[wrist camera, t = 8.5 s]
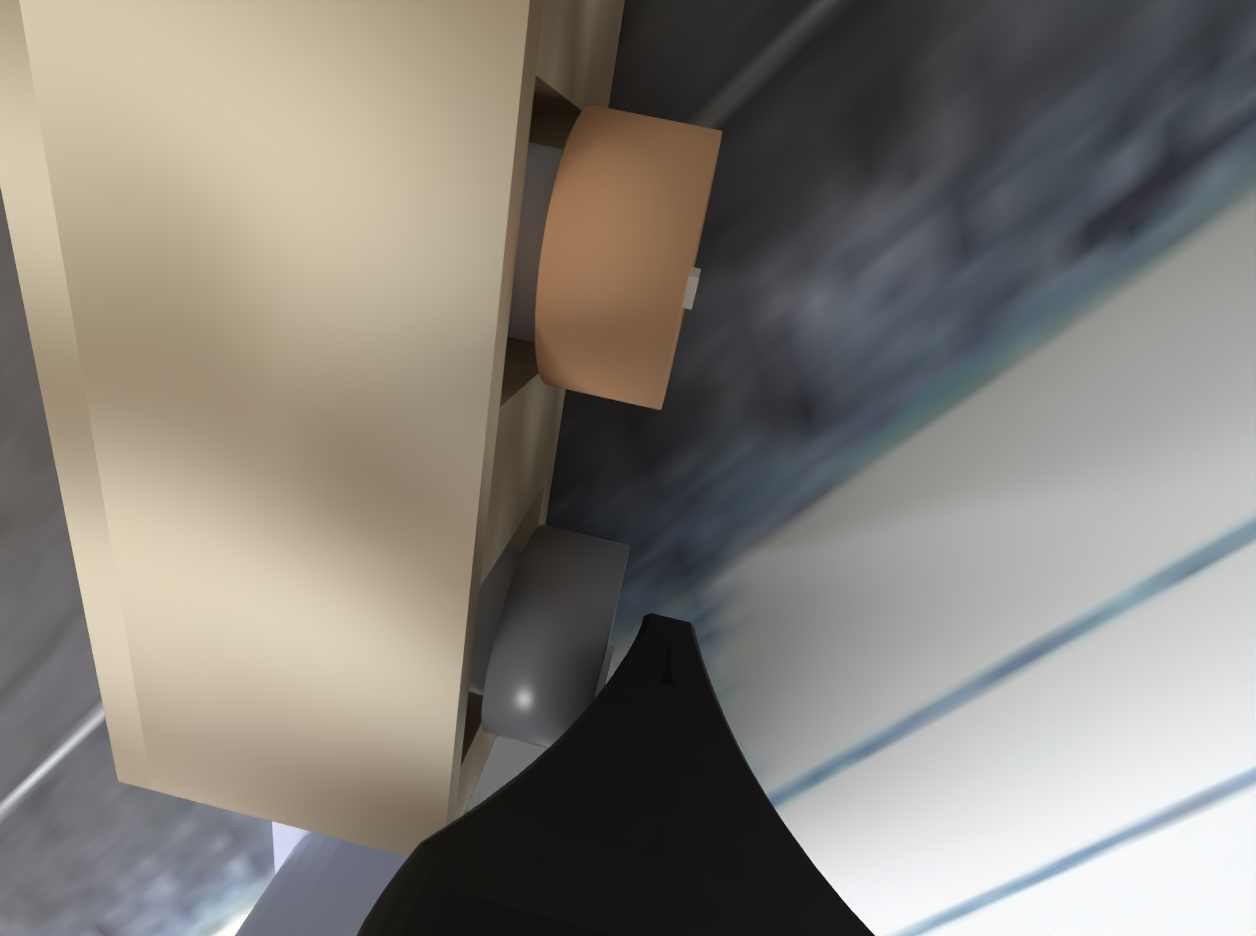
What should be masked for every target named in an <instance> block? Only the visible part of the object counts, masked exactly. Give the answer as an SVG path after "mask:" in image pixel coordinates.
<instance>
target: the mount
mask: <svg viewBox="0 0 1256 936" xmlns="http://www.w3.org/2000/svg"><path fill="white" fill-rule="evenodd" d="M624 3H625V0H0V186H1V191H2V196H3V201H4V206H5V211H6V216H7V221H8V226H9V231H10V237H11V242H12V247H13V252H14V257H15V262H16V267H17V272H18V277H19V282H20V287H21V292H22V297H23V302H24V307H25V312H26V317H27V322H28V328H29V333H30V338H31V343H32V348H33V353H34V358H35V363H36V368H37V373H38V378H39V383H40V388H41V393H42V398H43V403H44V408H45V413H46V418H47V424H48V429H49V434H50V439H51V444H52V449H53V454H54V459H55V464H56V469H57V474H58V479H59V484H60V489H61V494H62V499H63V504H64V509H65V515H66V520H67V525H68V530H69V535H70V540H71V545H72V550H73V555H74V560H75V565H76V570H77V575H78V580H79V585H80V590H81V595H82V600H83V606H84V611H85V616H86V621H87V626H88V631H89V636H90V641H91V646H92V651H93V656H94V661H95V666H96V671H97V676H98V681H99V686H100V691H101V697H102V702H103V707H104V712H105V717H106V722H107V727H108V732H109V737H110V742H111V747H112V752H113V757H114V762H115V767H116V772H117V777H118V781H119V782H123V783H127V784H131V785H135V786H139V787H142V788H146V789H150V790H154V791H158V792H162V793H165V794H169V795H173V796H177V797H181V798H185V799H188V800H192V801H196V802H200V803H204V804H208V805H211V806H215V807H219V808H223V809H227V810H231V811H234V812H238V813H242V814H246V815H250V816H253V817H257V818H261V819H265V820H269V821H273V822H276V823H280V824H284V825H288V826H292V827H296V828H299V829H303V830H307V831H311V832H315V833H319V834H322V835H326V836H330V837H334V838H338V839H342V840H345V841H349V842H353V843H357V844H361V845H365V846H368V847H372V848H376V849H380V850H384V851H387V852H391V853H395V854H399V855H403V856H407V857H409V856H410V854H411V853H412V852H413V851H414V849H415V848H416V847H417V846H418V845H419V843H420V842H422V841H423V840H425V839H427V838H428V837H430V836H431V835H433V834H434V833H436V832H438V831H439V830H441V829H442V828H444V827H445V826H447V825H449V824H450V823H452V822H453V821H455V820H456V819H458V818H460V817H461V816H463V814H464V812H465V810H466V807H467V805H468V803H469V800H470V798H471V795H472V793H473V791H474V788H475V786H476V784H477V781H478V779H479V776H480V774H481V772H482V769H483V767H484V765H485V762H486V760H487V757H488V755H489V753H490V750H491V748H492V746H493V743H494V741H495V738H496V736H497V735H495V734H491V733H487V732H484V730H483V727H482V702H483V695H480V694H476V693H472V692H469V683H470V674H471V665H472V656H473V646H474V637H475V628H476V619H477V610H478V601H479V591H480V586H481V585H482V583H483V582H484V580H485V578H486V577H487V575H488V574H489V572H490V571H491V569H492V567H493V566H494V564H495V563H496V561H497V559H498V558H499V556H500V555H501V553H502V552H503V550H504V548H505V547H507V548H511V549H515V550H519V551H524V549H525V547H526V545H527V543H528V541H529V539H530V537H531V535H532V534H533V532H534V531H535V530H536V528H537V527H538V526H540V525H545V523H546V517H547V510H548V504H549V497H550V490H551V484H552V477H553V471H554V464H555V457H556V451H557V444H558V438H559V431H560V424H561V418H562V411H563V405H564V398H565V392H566V389H563V388H558V387H554V386H549V385H546V384H545V383H544V382H543V381H542V379H541V377H540V375H539V371H538V366H537V359H536V349H535V343H534V342H530V341H525V340H521V339H516V338H511V337H507V334H508V325H509V316H510V307H511V298H512V289H513V279H514V270H515V261H516V252H517V243H518V234H519V224H520V215H521V206H522V197H523V188H524V178H525V169H526V160H527V151H528V142H531V143H536V144H541V145H546V146H551V147H556V148H561V149H565V146H566V143H567V140H568V138H569V135H570V133H571V130H572V128H573V126H574V124H575V122H576V120H577V118H578V117H579V115H580V114H581V112H582V111H583V110H584V109H585V108H586V107H587V106H589V105H595V106H600V107H605V108H609V102H610V95H611V88H612V82H613V75H614V69H615V62H616V56H617V49H618V42H619V36H620V29H621V23H622V16H623V9H624Z"/></svg>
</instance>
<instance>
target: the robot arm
mask: <svg viewBox="0 0 1256 936" xmlns="http://www.w3.org/2000/svg"><path fill="white" fill-rule="evenodd" d="M272 831H273V847H274V863H275V876H274V878H273V879H272V881H271V882H270V884H269V885H268V887H267V888H266V890H265V891H264V893H263V894H262V896H261V897H260V899H259V900H258V902H257V903H256V905H255V906H254V908H253V909H252V911H251V912H250V914H249V915H248V917H247V918H246V920H245V921H244V923H243V924H242V926H241V927H240V929H239V930H238V932H237V933H236V935H235V936H875V935H874V934H873V933H872V932H871V931H870V930H869V929H868V928H867V927H866V925H865V924H864V923H863V922H862V921H861V920H860V919H859V918H858V917H857V916H856V915H855V913H854V912H853V911H852V910H851V909H850V908H849V907H848V906H847V904H846V903H845V902H844V901H843V900H842V899H841V897H840V896H839V895H838V894H837V892H836V891H835V890H834V889H833V888H832V886H831V885H830V884H829V883H828V881H827V880H826V879H825V878H824V876H823V875H822V874H821V873H820V872H819V870H818V869H817V868H816V867H815V865H814V864H813V863H812V861H811V860H810V858H809V857H808V856H807V854H806V853H805V852H804V850H803V849H802V847H801V846H800V845H799V843H798V842H797V840H796V839H795V838H794V836H793V835H792V834H791V832H790V831H789V829H788V828H787V827H786V825H785V824H784V822H783V821H782V819H781V818H780V816H779V815H778V813H777V812H776V810H775V809H774V807H773V805H772V804H771V802H770V801H769V799H768V797H767V796H766V794H765V793H764V791H763V789H762V788H761V786H760V784H759V782H758V781H757V779H756V777H755V776H754V774H753V772H752V770H751V769H750V767H749V765H748V763H747V761H746V759H745V757H744V756H743V754H742V752H741V750H740V748H739V746H738V744H737V742H736V740H735V738H734V736H733V733H732V731H731V729H730V727H729V725H728V723H727V721H726V718H725V716H724V714H723V712H722V709H721V707H720V704H719V702H718V699H717V697H716V695H715V692H714V690H713V687H712V685H711V682H710V679H709V676H708V674H707V671H706V668H705V665H704V662H703V659H702V656H701V652H700V649H699V646H698V642H697V638H696V634H695V629H694V627H693V626H692V624H691V623H690V622H685V621H681V620H677V619H673V618H669V617H664V616H660V615H656V614H652V613H650V614H648V615H646V616H644V617H643V621H642V625H641V628H640V630H639V632H638V635H637V637H636V639H635V641H634V643H633V644H632V646H631V648H630V650H629V651H628V653H627V655H626V656H625V658H624V659H623V661H622V662H621V664H620V665H619V667H618V668H617V670H616V671H615V673H614V674H613V676H612V677H611V679H610V680H609V681H608V683H607V684H606V685H605V686H604V688H603V689H602V690H601V691H600V693H599V694H598V695H597V696H596V698H595V699H594V700H593V701H592V703H591V704H590V705H589V706H588V708H587V709H586V710H585V711H584V712H583V713H582V714H581V715H580V717H579V718H578V719H577V720H576V721H575V722H574V723H573V724H572V725H571V726H570V727H569V728H568V729H567V730H566V731H565V732H564V734H563V735H562V736H561V737H560V738H559V739H558V740H557V741H556V742H554V743H553V744H552V745H551V746H550V747H549V748H548V749H547V750H546V751H545V752H544V753H543V754H541V755H540V756H539V757H538V758H537V759H536V760H535V761H534V762H533V763H532V764H530V765H529V766H528V767H527V768H526V769H525V770H523V771H522V772H521V773H520V774H519V775H517V776H516V777H515V778H513V779H512V780H511V781H509V782H508V783H507V784H505V785H504V786H503V787H502V788H500V789H499V790H498V791H496V792H495V793H494V794H492V795H491V796H490V797H488V798H487V799H486V800H485V801H483V802H482V803H480V804H479V805H478V806H476V807H475V808H473V809H472V810H470V811H469V812H467V813H466V814H464V815H463V816H461V817H460V818H458V819H456V820H455V821H453V822H452V823H450V824H449V825H447V826H445V827H444V828H442V829H441V830H439V831H438V832H436V833H434V834H433V835H431V836H430V837H428V838H427V839H425V840H423V841H422V842H420V843H419V845H418V846H417V847H416V848H415V849H414V851H413V852H412V853H411V854H410V856H409V857H407V856H403V855H399V854H395V853H391V852H387V851H384V850H380V849H376V848H372V847H368V846H365V845H361V844H357V843H353V842H349V841H345V840H342V839H338V838H334V837H330V836H326V835H322V834H319V833H315V832H311V831H307V830H303V829H299V828H296V827H292V826H288V825H284V824H280V823H276V822H273V821H272Z"/></svg>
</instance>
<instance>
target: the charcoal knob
mask: <svg viewBox="0 0 1256 936" xmlns="http://www.w3.org/2000/svg"><path fill="white" fill-rule="evenodd" d="M629 551H630V545H628V544H624V543H619V542H615V541H611V540H606V539H602V538H598V537H593V536H589V535H585V534H580V533H576V532H572V531H568V530H563V529H559V528H555V527H550V526H546V525H540V526H538V527H537V528H536V530H535V531H534V532H533V534H532V535H531V537H530V539H529V541H528V543H527V545H526V547H525V549H524V551H519V550H515V549H511V548H507V547H505V548H504V550H503V552H502V553H501V555H500V556H499V558H498V559H497V561H496V563H495V564H494V566H493V567H492V569H491V571H490V572H489V574H488V575H487V577H486V578H485V580H484V582H483V583H482V585H481V586H480V591H479V601H478V610H477V619H476V628H475V637H474V646H473V656H472V665H471V674H470V683H469V692H472V693H476V694H480V695H483V702H482V727H483V730H484V732H487V733H491V734H495V735H499V736H503V737H507V738H511V739H515V740H519V741H523V742H527V743H531V744H535V745H539V746H543V747H547V748H549V747H550V746H551V745H552V744H553V743H554V742H556V741H557V740H558V739H559V738H560V737H561V736H562V735H563V734H564V732H565V731H566V730H567V729H568V728H569V727H570V726H571V725H572V724H573V723H574V722H575V721H576V720H577V719H578V718H579V717H580V715H581V714H582V713H583V712H584V711H585V710H586V709H587V708H588V706H589V705H590V704H591V703H592V701H593V700H594V699H595V698H596V696H597V695H598V694H599V693H600V691H601V690H602V689H603V688H604V686H605V683H606V679H607V675H608V671H609V666H610V662H611V658H612V653H613V649H614V646H612V645H609V643H610V639H611V635H612V630H613V626H614V621H615V617H616V612H617V608H618V603H619V599H620V594H621V590H622V585H623V581H624V576H625V571H626V566H627V562H628V557H629Z"/></svg>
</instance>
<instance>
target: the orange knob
mask: <svg viewBox="0 0 1256 936" xmlns="http://www.w3.org/2000/svg"><path fill="white" fill-rule="evenodd" d="M721 137H722V130H717V129H712V128H706V127H701V126H696V125H691V124H686V123H681V122H676V121H671V120H666V119H661V118H656V117H651V116H646V115H640V114H635V113H630V112H625V111H620V110H615V109H610V108H605V107H600V106H595V105H589V106H587V107H586V108H585V109H584V110H583V111H582V112H581V114H580V115H579V117H578V118H577V120H576V122H575V124H574V126H573V128H572V130H571V133H570V135H569V138H568V140H567V143H566V146H565V149H561V148H556V147H551V146H546V145H541V144H536V143H531V142H528V151H527V160H526V169H525V178H524V188H523V197H522V206H521V215H520V224H519V234H518V243H517V252H516V261H515V270H514V279H513V289H512V298H511V307H510V316H509V325H508V334H507V337H511V338H516V339H521V340H525V341H530V342H534V343H535V349H536V359H537V366H538V371H539V375H540V377H541V379H542V381H543V382H544V383H545V384H546V385H549V386H554V387H558V388H563V389H567V390H572V391H576V392H581V393H586V394H590V395H595V396H599V397H604V398H608V399H613V400H617V401H622V402H626V403H631V404H635V405H640V406H645V407H649V408H654V409H658V410H661V408H662V405H663V401H664V398H665V394H666V390H667V386H668V381H669V377H670V373H671V369H672V365H673V360H674V356H675V352H676V348H677V343H678V339H679V335H680V330H681V326H682V321H683V317H684V313H685V308H686V309H690V310H692V306H693V302H694V298H695V294H696V290H697V285H698V281H699V276H700V272H701V269H699V268H695V263H696V258H697V254H698V249H699V245H700V240H701V235H702V231H703V226H704V221H705V217H706V212H707V207H708V202H709V198H710V193H711V188H712V183H713V178H714V173H715V169H716V164H717V158H718V153H719V148H720V143H721Z"/></svg>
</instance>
